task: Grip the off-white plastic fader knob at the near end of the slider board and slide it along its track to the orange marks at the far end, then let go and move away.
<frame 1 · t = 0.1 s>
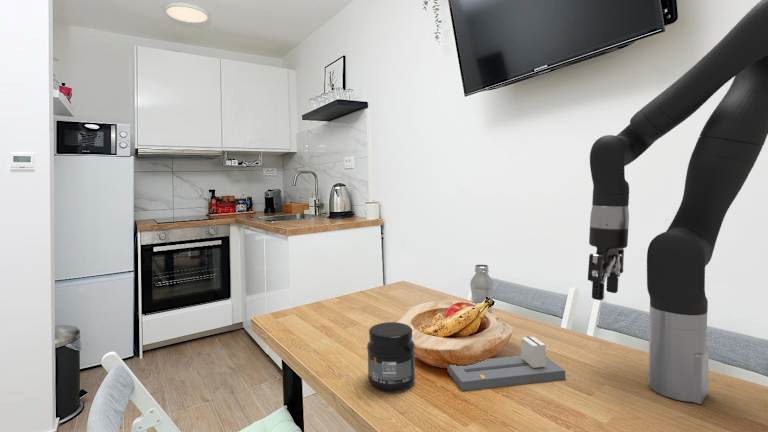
hand: (605, 295, 87), 17 cm above the table, tool pointing down, fingers open, 8 cm apart
slider board: (504, 375, 86), on the table
supplement container: (391, 382, 84), on the table
plastic bottle: (482, 333, 112), on the table
fader: (533, 351, 87), point 5 cm above the table, slide at -7.0 cm
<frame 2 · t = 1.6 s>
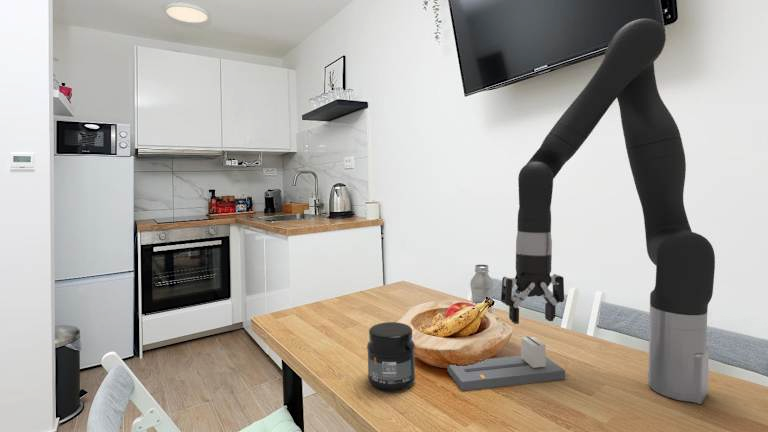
hand: (532, 321, 86), 12 cm above the table, tool pointing down, fingers open, 8 cm apart
nothing on the table moved.
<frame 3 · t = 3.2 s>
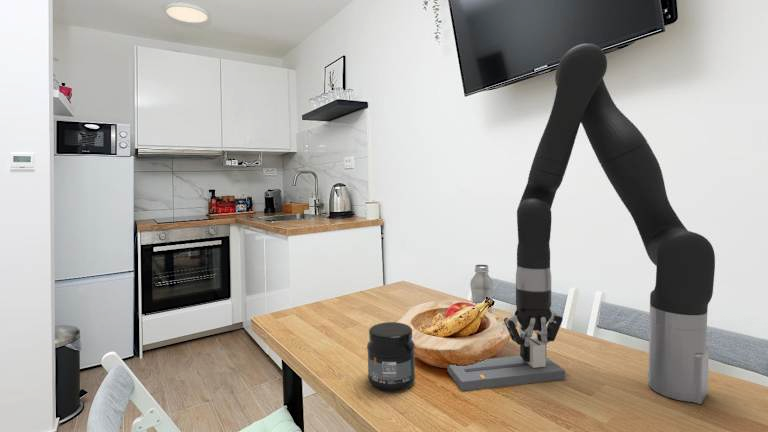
hand: (533, 359, 87), 3 cm above the table, tool pointing down, fingers closed on fader, 3 cm apart
fader: (533, 351, 87), point 5 cm above the table, slide at -7.1 cm, touching gripper
everything else where it was.
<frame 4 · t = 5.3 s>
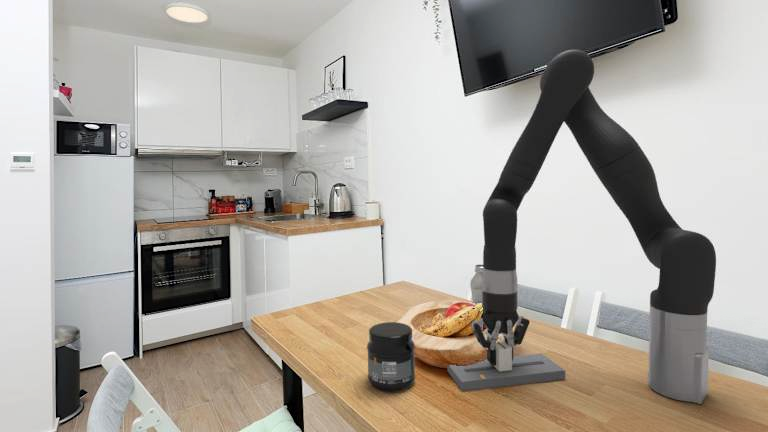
hand: (499, 362, 85), 3 cm above the table, tool pointing down, fingers closed on fader, 3 cm apart
fader: (500, 354, 85), point 5 cm above the table, slide at 1.1 cm, touching gripper
everything else where it was.
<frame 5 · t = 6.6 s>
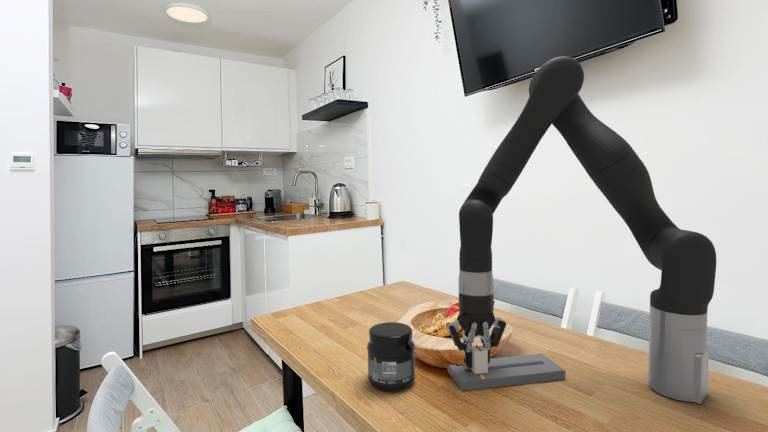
hand: (476, 365, 84), 3 cm above the table, tool pointing down, fingers closed on fader, 3 cm apart
fader: (476, 357, 84), point 5 cm above the table, slide at 6.7 cm, touching gripper
everything else where it was.
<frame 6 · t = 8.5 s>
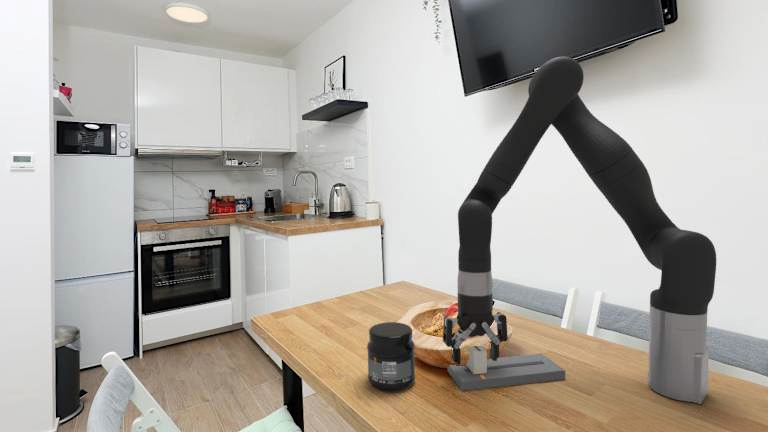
hand: (475, 361, 84), 4 cm above the table, tool pointing down, fingers open, 8 cm apart
fader: (475, 357, 84), point 5 cm above the table, slide at 7.0 cm
everything else where it was.
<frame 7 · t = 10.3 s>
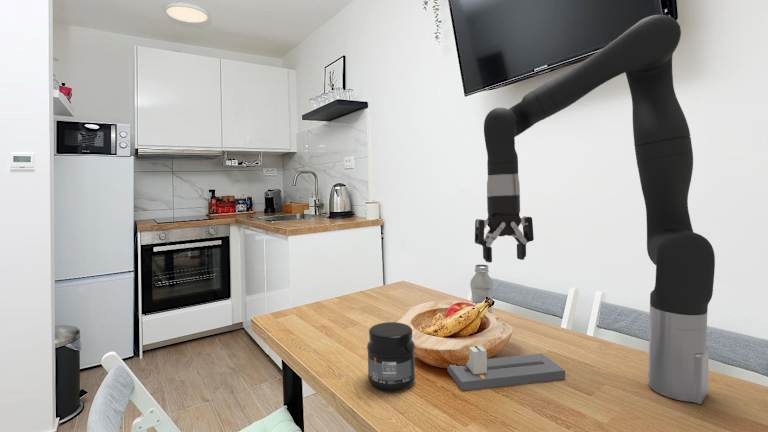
hand: (504, 260, 92), 25 cm above the table, tool pointing down, fingers open, 8 cm apart
nothing on the table moved.
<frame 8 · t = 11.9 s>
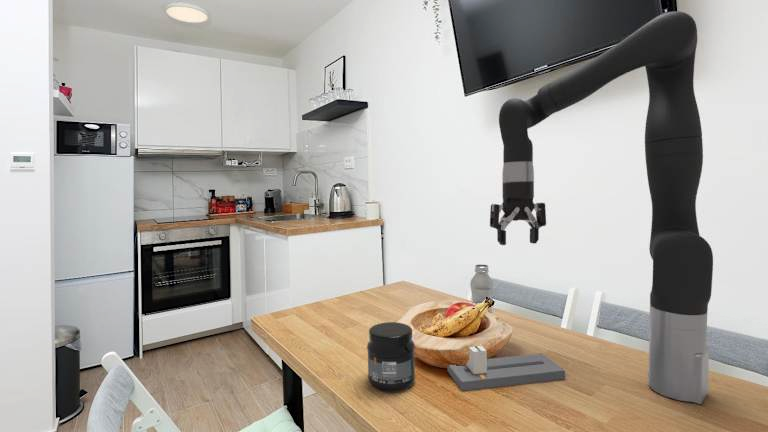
hand: (518, 243, 97), 28 cm above the table, tool pointing down, fingers open, 8 cm apart
nothing on the table moved.
at the end: fader slide at 7.0 cm; the gripper is holding nothing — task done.
